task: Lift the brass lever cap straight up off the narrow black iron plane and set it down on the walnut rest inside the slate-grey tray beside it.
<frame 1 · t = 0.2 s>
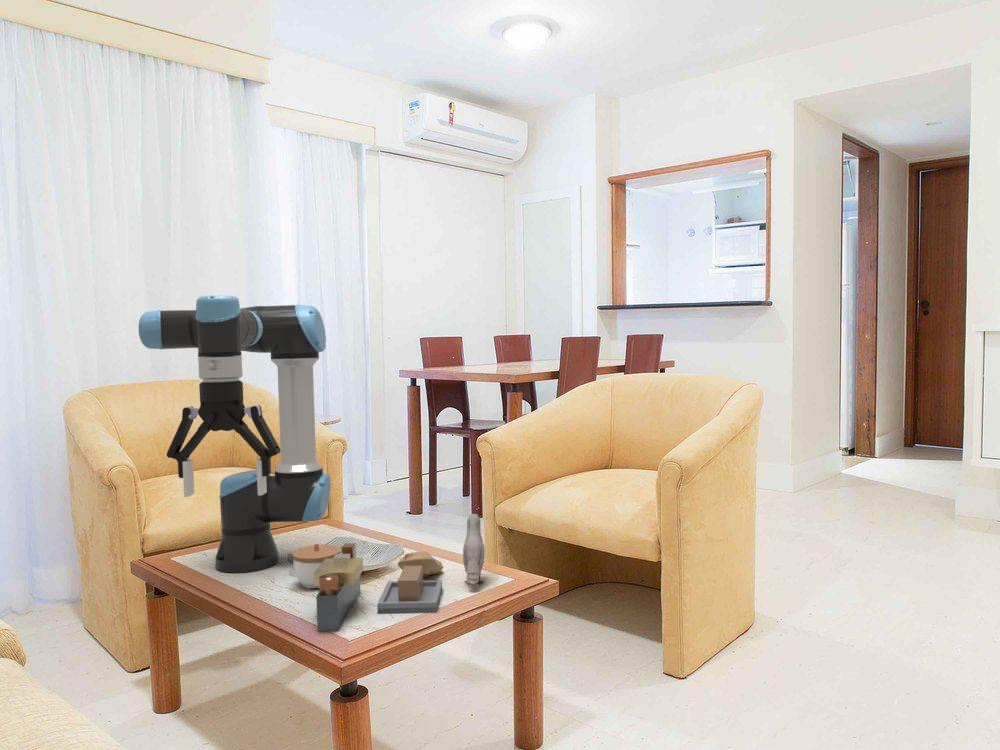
hand: (225, 494, 138), 28 cm above the table, tool pointing down, fingers open, 13 cm apart
lever cap: (339, 577, 154), point 7 cm above the table, touching plane
plane: (340, 610, 154), on the table
pottery oil lamp: (424, 578, 174), on the table
bird: (474, 583, 170), on the table
lidded jar: (317, 585, 171), on the table
tray: (411, 600, 159), on the table
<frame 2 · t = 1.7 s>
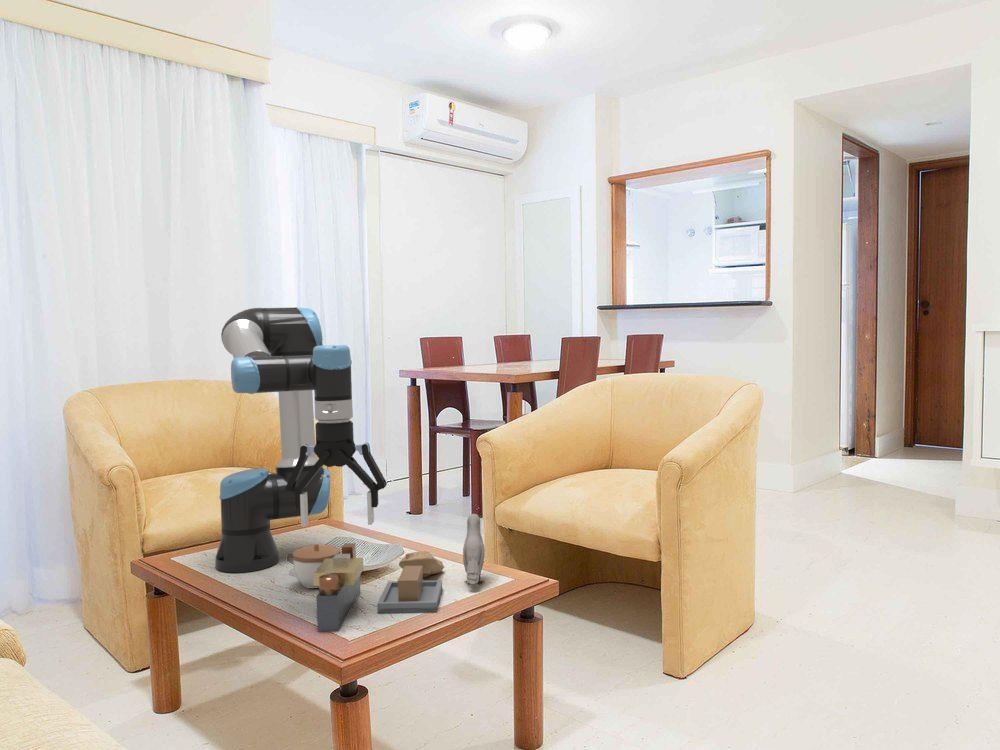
hand: (337, 524, 153), 18 cm above the table, tool pointing down, fingers open, 13 cm apart
nothing on the table moved.
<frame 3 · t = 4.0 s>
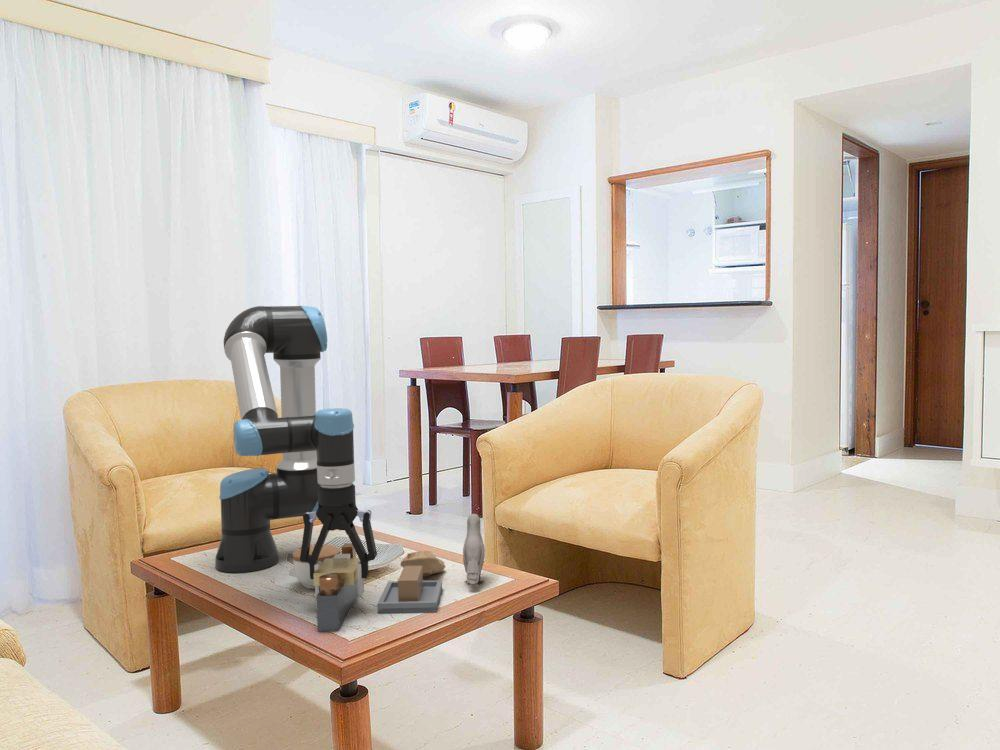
hand: (340, 593, 154), 4 cm above the table, tool pointing down, fingers closed on lever cap, 8 cm apart
lever cap: (339, 577, 154), point 7 cm above the table, touching gripper, plane
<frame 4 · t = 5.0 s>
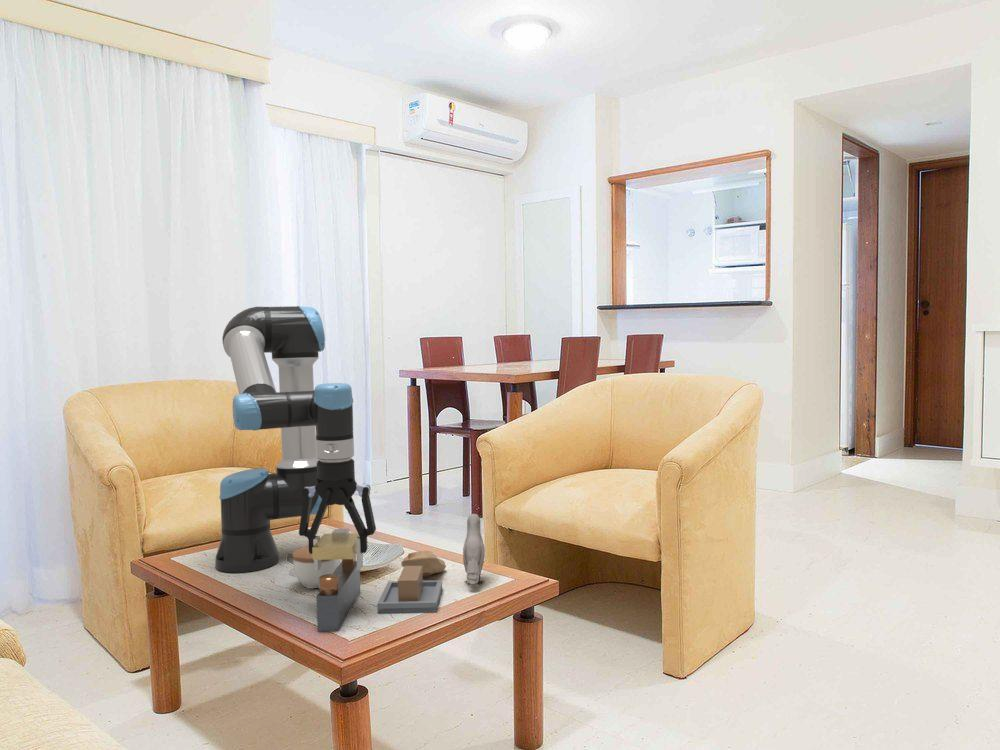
hand: (338, 568, 154), 9 cm above the table, tool pointing down, fingers closed on lever cap, 8 cm apart
lever cap: (338, 551, 154), point 12 cm above the table, touching gripper
everything else where it was.
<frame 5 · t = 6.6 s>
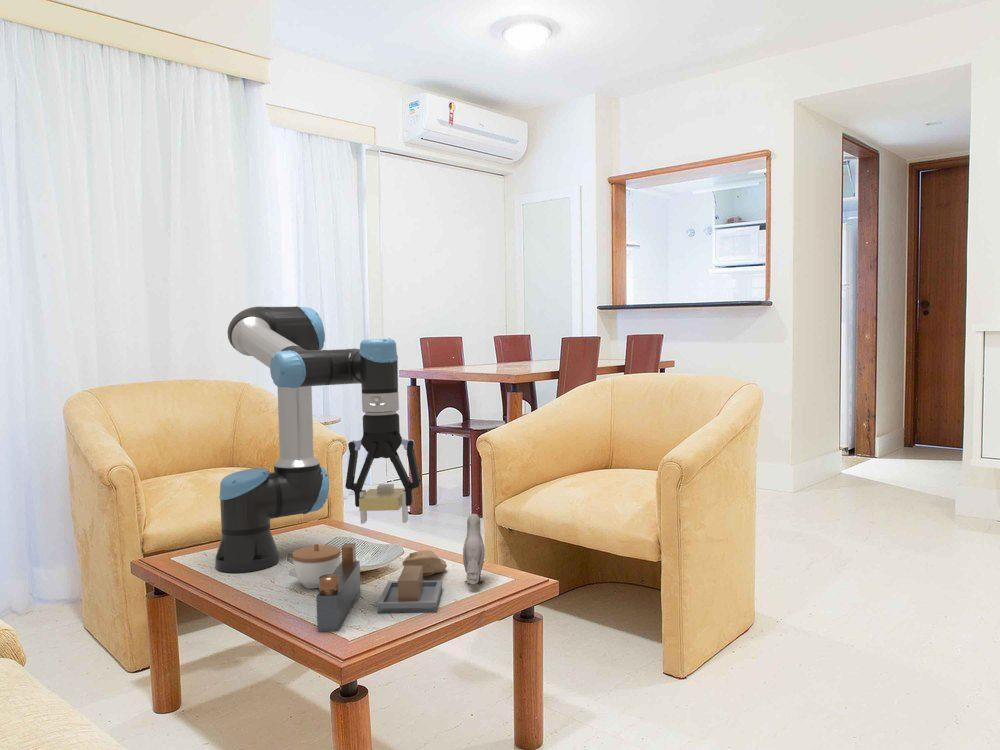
hand: (384, 521, 156), 18 cm above the table, tool pointing down, fingers closed on lever cap, 8 cm apart
lever cap: (383, 505, 156), point 21 cm above the table, touching gripper
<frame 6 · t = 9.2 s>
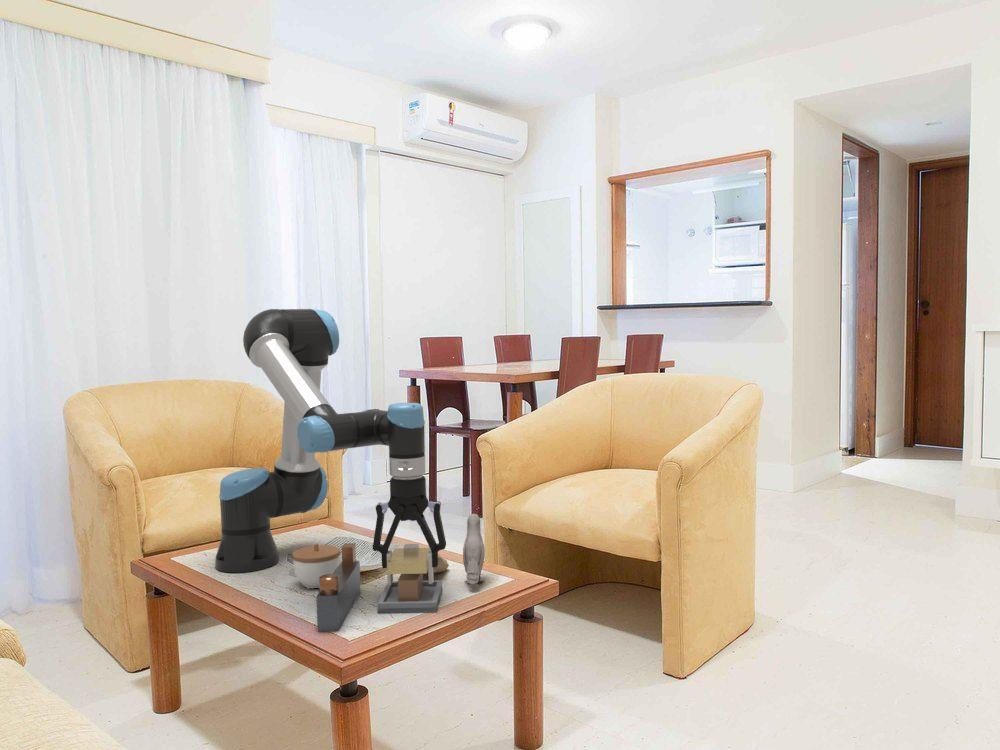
hand: (410, 582, 159), 4 cm above the table, tool pointing down, fingers closed on lever cap, 8 cm apart
lever cap: (410, 566, 159), point 7 cm above the table, touching gripper
when the fingers open (4 cm above the table, at t = 9.6 s): lever cap drops 1 cm, resting on tray.
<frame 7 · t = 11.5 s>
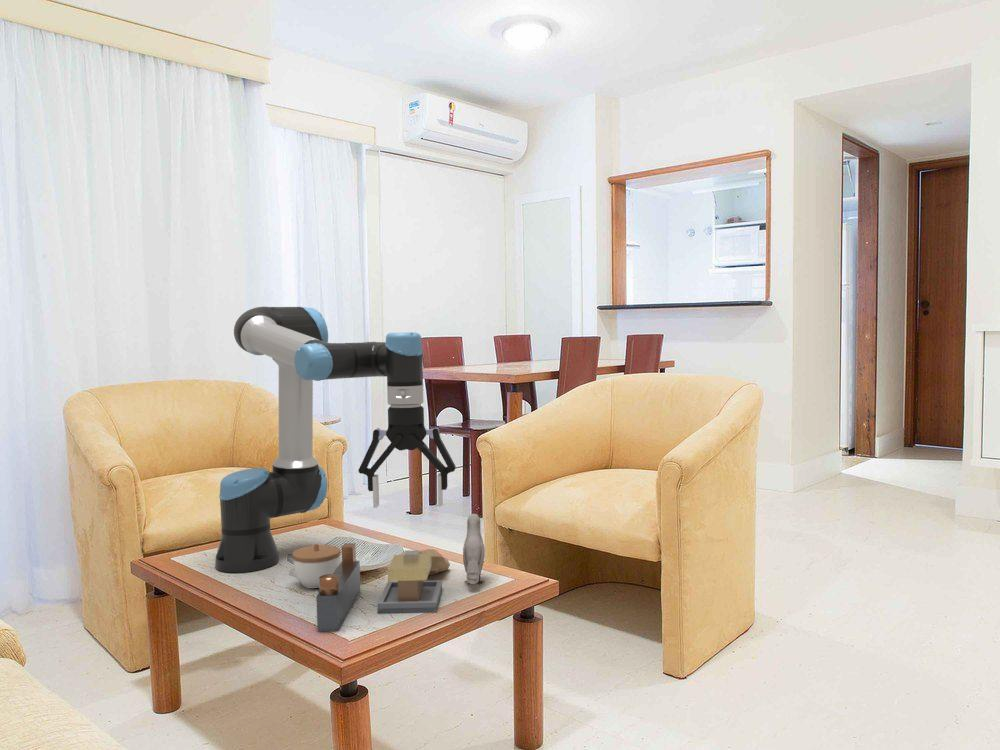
hand: (408, 505, 158), 20 cm above the table, tool pointing down, fingers open, 13 cm apart
lever cap: (410, 573, 159), point 6 cm above the table, touching tray
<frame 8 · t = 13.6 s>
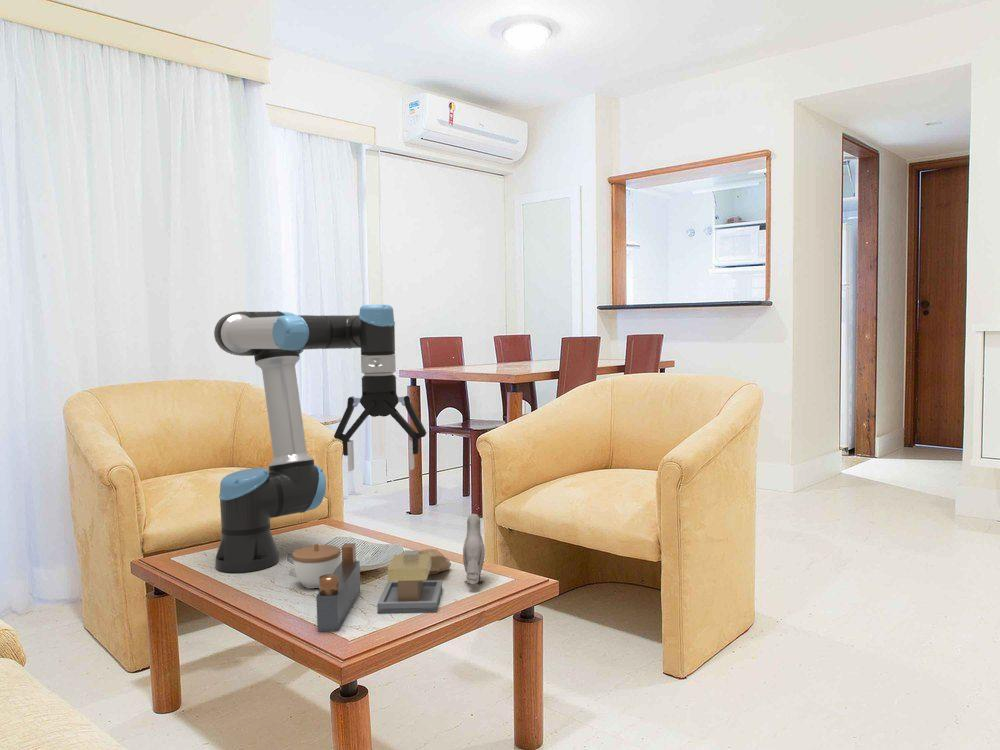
hand: (381, 469, 167), 27 cm above the table, tool pointing down, fingers open, 13 cm apart
at the end: lever cap 0.0 cm off-centre on the tray, point 6.0 cm above the tray's base; lever cap tilted 0°; the gripper is holding nothing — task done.
